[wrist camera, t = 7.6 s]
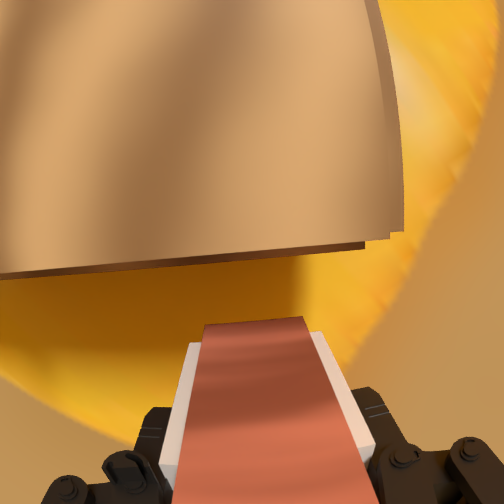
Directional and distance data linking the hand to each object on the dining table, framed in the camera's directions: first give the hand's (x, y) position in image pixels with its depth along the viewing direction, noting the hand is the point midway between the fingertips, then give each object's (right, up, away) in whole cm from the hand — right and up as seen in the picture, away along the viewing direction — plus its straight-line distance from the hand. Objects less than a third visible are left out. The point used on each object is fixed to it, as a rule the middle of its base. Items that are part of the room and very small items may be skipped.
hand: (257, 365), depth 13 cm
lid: (-9, +12, -2) cm, 15 cm away
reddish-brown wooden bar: (0, 0, 0) cm, 0 cm away
